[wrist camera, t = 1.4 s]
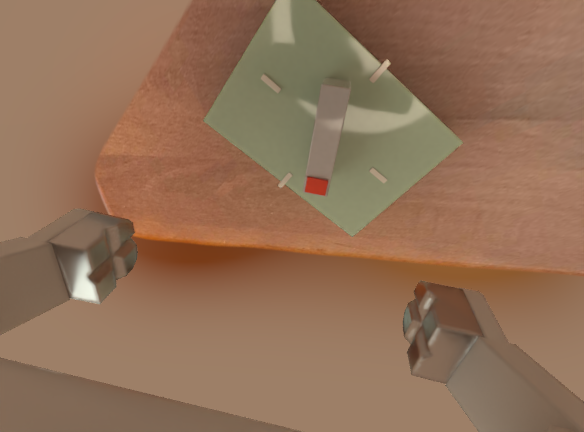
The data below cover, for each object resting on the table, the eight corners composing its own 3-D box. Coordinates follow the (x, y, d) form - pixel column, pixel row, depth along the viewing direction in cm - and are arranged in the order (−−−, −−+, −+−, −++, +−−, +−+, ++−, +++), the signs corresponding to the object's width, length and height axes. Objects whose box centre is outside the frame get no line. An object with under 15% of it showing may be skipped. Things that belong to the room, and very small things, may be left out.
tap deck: (215, 115, 24) (199, 125, 22) (301, -23, 19) (293, -32, 16) (349, 220, 27) (349, 241, 24) (454, 126, 22) (469, 139, 19)
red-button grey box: (324, 76, 19) (320, 84, 16) (350, 81, 19) (351, 89, 16) (307, 174, 22) (301, 194, 20) (329, 178, 22) (326, 199, 19)
